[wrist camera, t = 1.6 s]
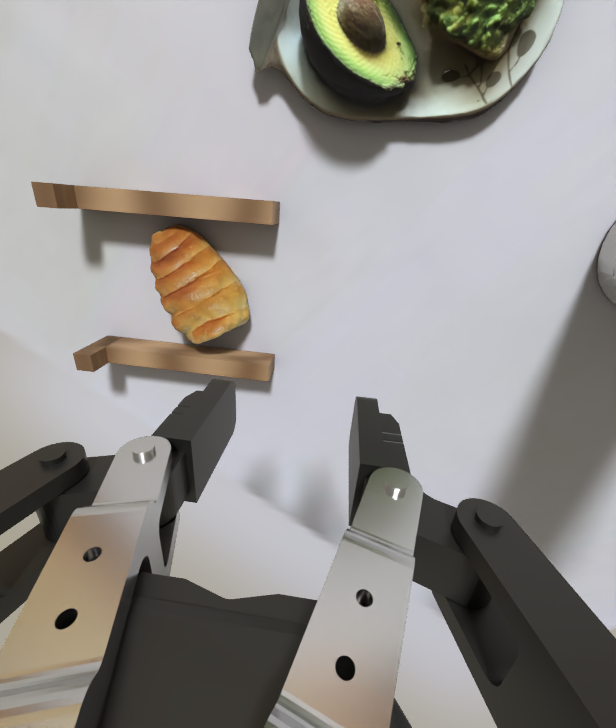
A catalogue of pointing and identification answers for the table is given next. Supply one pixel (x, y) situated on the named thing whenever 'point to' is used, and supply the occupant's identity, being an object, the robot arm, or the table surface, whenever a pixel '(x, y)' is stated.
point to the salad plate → (402, 53)
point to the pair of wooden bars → (176, 206)
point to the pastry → (196, 285)
